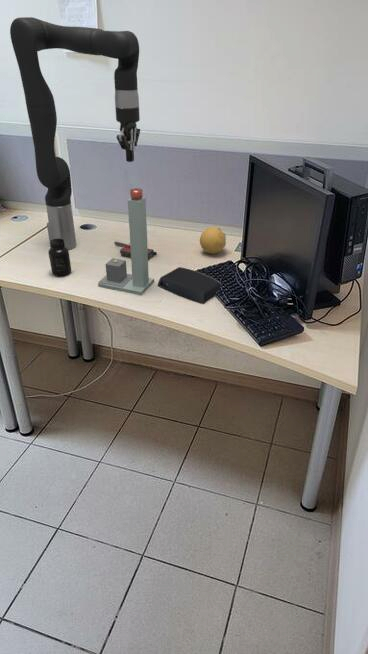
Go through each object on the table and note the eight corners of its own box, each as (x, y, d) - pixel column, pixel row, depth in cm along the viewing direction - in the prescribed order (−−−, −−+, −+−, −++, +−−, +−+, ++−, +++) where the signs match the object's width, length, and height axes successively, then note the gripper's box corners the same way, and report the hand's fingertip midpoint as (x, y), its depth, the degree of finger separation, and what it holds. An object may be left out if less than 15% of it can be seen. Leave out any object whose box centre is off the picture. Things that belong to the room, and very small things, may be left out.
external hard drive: (180, 274, 168) (180, 263, 166) (225, 291, 158) (225, 280, 156) (155, 287, 160) (155, 276, 158) (201, 306, 150) (201, 295, 148)
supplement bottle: (75, 270, 169) (71, 238, 163) (65, 278, 164) (60, 246, 157) (58, 267, 171) (53, 235, 164) (48, 275, 166) (42, 243, 159)
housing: (106, 280, 160) (105, 262, 156) (114, 273, 164) (112, 256, 160) (120, 282, 158) (118, 264, 155) (127, 276, 162) (125, 258, 159)
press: (98, 286, 159) (88, 198, 142) (112, 273, 167) (105, 188, 150) (141, 295, 154) (136, 205, 138) (153, 281, 162) (151, 194, 145)
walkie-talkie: (160, 254, 181) (116, 244, 189) (159, 244, 179) (115, 234, 186) (148, 263, 175) (103, 253, 182) (148, 252, 172) (102, 242, 180)
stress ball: (198, 257, 181) (211, 248, 172) (192, 233, 182) (206, 223, 173) (219, 256, 186) (233, 247, 177) (214, 232, 187) (228, 222, 178)
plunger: (129, 215, 144) (128, 191, 140) (134, 211, 147) (133, 187, 143) (140, 217, 143) (139, 192, 139) (145, 213, 146) (144, 189, 142)
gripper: (126, 101, 156) (129, 155, 166) (106, 107, 146) (110, 165, 156) (146, 102, 154) (148, 157, 164) (128, 109, 144) (131, 167, 153)
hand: (130, 161), depth 160 cm, fingers closed
